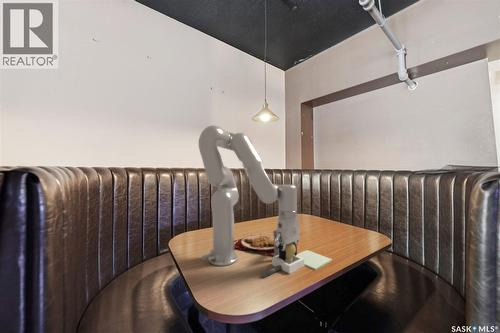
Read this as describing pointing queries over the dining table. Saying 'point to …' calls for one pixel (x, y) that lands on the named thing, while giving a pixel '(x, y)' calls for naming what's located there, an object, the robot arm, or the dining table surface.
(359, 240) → the dining table surface
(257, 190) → the robot arm
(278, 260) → the white handled box
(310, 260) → the mat
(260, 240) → the plate with food
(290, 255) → the light bulb
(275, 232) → the silver metal bar
